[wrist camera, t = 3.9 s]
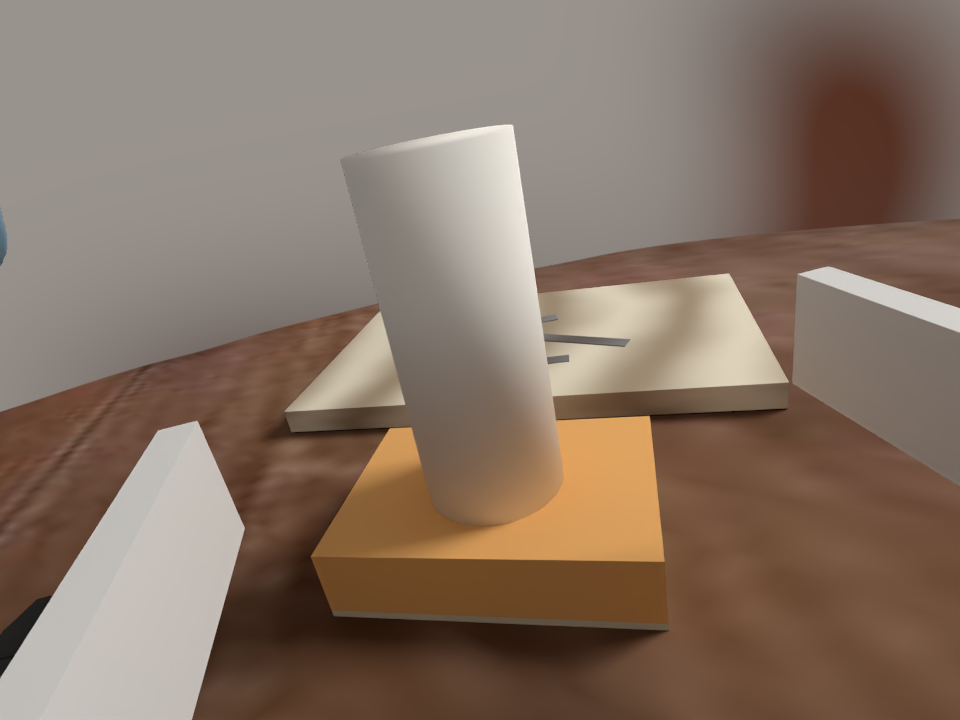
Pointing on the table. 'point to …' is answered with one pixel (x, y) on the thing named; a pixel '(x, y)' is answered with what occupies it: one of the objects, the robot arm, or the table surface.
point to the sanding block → (483, 421)
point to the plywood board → (590, 359)
